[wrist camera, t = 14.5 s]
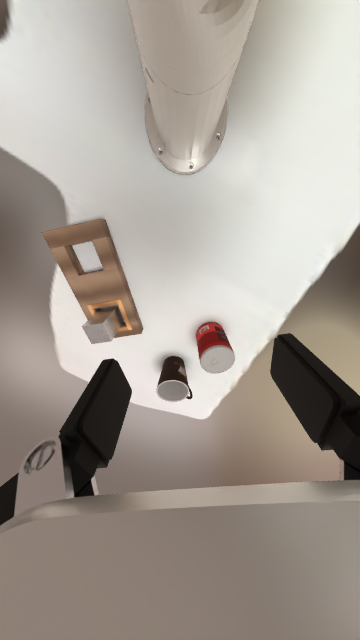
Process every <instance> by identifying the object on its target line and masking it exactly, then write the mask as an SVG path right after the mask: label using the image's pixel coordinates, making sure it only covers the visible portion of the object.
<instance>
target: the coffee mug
mask: <svg viewBox="0 0 360 640" xmlns="http://www.w3.org/2000/svg"><path fill="white" fill-rule="evenodd" d="M156 392H157V395H158V396H159V397H160V398H161V399H163V400H165V401H169V402H177V401H181V400H183V399H185V398H187V399H191V398H192V392H191V389H190V388H189V386H188V381H187V376H186V371H185V365H184V361H183V360H182V359H181V358H179V357H176V356H172V357H168V358H167V359H166V360H165V362H164V365H163V368H162V372H161V375H160V379H159V382H158V386H157V389H156ZM189 392H190V397H189V396H188V394H189Z"/></svg>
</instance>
